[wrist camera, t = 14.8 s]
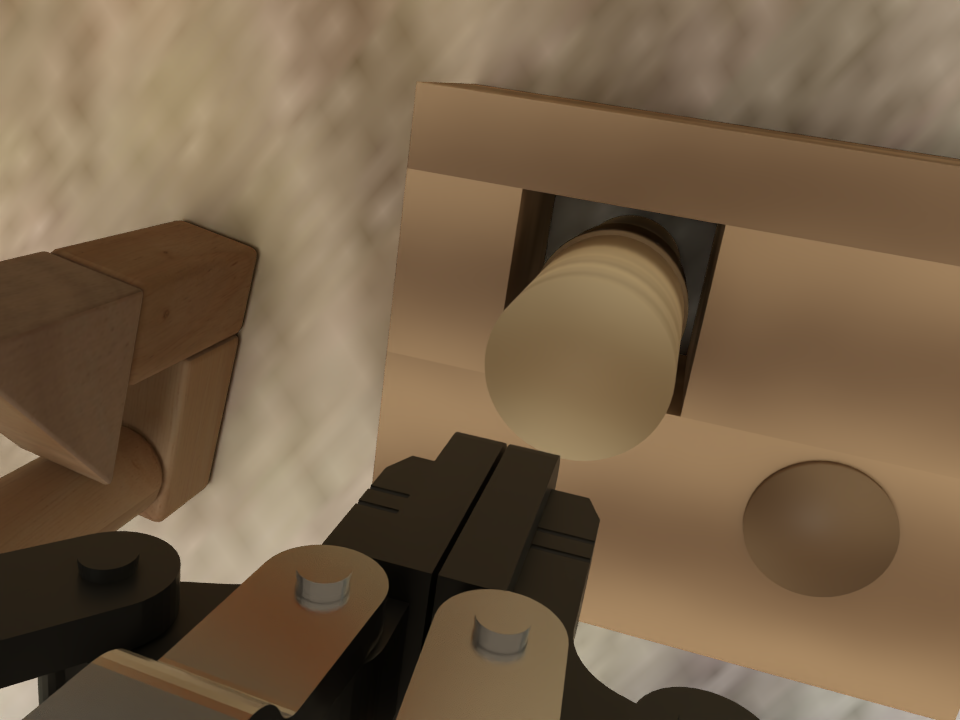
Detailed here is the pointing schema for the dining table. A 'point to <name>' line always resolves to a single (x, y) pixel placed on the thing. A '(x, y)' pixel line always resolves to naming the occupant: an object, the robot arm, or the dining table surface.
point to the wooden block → (115, 376)
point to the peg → (592, 342)
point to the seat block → (722, 378)
